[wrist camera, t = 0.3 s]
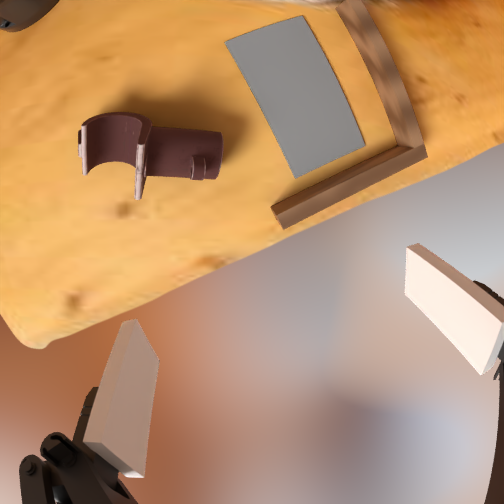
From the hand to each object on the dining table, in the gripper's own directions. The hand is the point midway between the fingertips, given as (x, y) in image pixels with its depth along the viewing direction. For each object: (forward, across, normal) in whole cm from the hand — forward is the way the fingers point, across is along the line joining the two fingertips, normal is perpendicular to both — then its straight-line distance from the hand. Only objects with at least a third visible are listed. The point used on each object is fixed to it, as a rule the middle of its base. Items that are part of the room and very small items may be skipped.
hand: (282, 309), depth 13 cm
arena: (+26, +12, +10) cm, 30 cm away
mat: (+26, +10, +11) cm, 30 cm away
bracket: (+26, -9, +8) cm, 29 cm away
